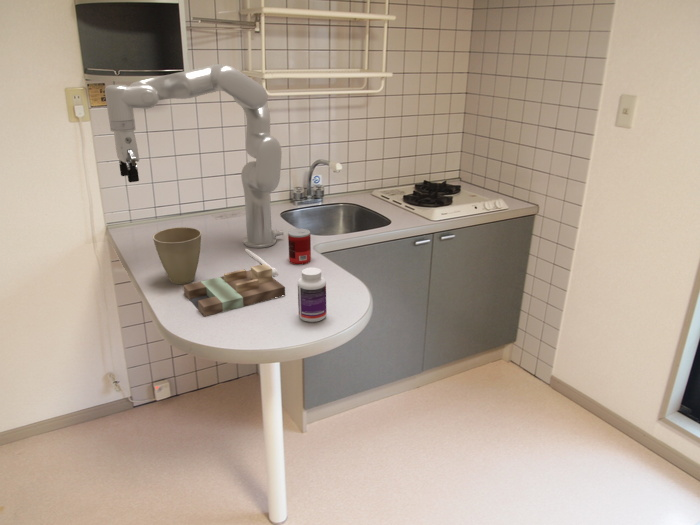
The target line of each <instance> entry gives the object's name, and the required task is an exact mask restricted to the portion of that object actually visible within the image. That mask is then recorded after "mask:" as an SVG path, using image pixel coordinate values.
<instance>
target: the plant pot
mask: <svg viewBox="0 0 700 525" xmlns="http://www.w3.org/2000/svg"><path fill="white" fill-rule="evenodd" d="M152 240H153V243H154V247H155V250H156V252H157V255H158V258H159V260H160V263H161V265H162V267H163V269H164V271H165V273H166V275H167V277H168V279H169V281H170V282H171V283H173V284H176V285H187V284H190V283H192V282H193V281H194V280H195V277H196V273H197V269H198V265H199V261H200V260H199V259H200V256H201V255H200V254H201V246H202V244H201V242H202V231H201V230H200V229H198V228H195V227H189V226H178V227H176V226H175V227H170V228H165V229H162V230H159V231H157V232H156V233H154V234H153V236H152Z"/></svg>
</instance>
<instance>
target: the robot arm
mask: <svg viewBox="0 0 700 525" xmlns="http://www.w3.org/2000/svg"><path fill="white" fill-rule="evenodd" d="M216 92H225V93H226V94H228V95H229V96H231V97H232V98H233V101H235V103H236V104H237V105H239V106H240V107H241V108H242V110H243V111H244V113H245V119H246V130H245V131H246V132H245V134H246V135H245V151H246V153H247V154H248V156H250V157H252V158H253V159H255V160H256V161H255V160H253V161H249V162H247V163H246V164H244V166H243V167H242V169H241V174H240V175H241V176H240V178H241V184H242V187H243V194H244V196H243V197H244V209H245V222H246V237H245V238H244V239H243V242H242V243H243V245H244V246H246V247H248V248H254V249H262V248H263V249H264V248H269V247H271V246H274V245H276V242H277V239H276V237H277V236H283V235H284V230H283V229H280V230H278V229H272V211H271V209H272V208H271V205H272V204H271V194H270V193H272V192H275V190H277V188H278V186H279V184H280V180H281V170H282V169H281V168H282V147H281V143H280V142H279V141H278V139H277V138H276V137H274V136H272V135H271V114H270V111H269V107H268V104H267V102H268V93H267V90H266V89H265V87H264V86H263V85H262V84H260V83H259V82H257V81H256V80H254V79H252V78H251V77H249V76H248V75H247V74H244V73H243V72H241V71H240V70H238V69H237V68H235V67H233V66H231V65H229V64H221V63H218V64H217V63H215V64H211V65H207V66H202V67H198V68H194V69H193V68H192V69H189V70H185V71H184V70H183V71H180V72H179V71H178V72H175V73H171V74H166V75H161V76H155V77H152V78H151V77H150V78H146V79H142V80H136V81H134V82H132V83H130V84H129V85H127V84H108V85H107V86H105V87H104V93H105V101H106V102H105V103H106V108H107V114H108V115H107V116H108V121H109V130H110V132H113V133H114V135H113V136H114V143H115V151H116V156H117V158H118V162H119V170H120V176H121V177H127V180H128V182H129V183H136V182H139V181H140V178H139V177H140V176H139V171H138V170H139V169H138V165H137V163H138V162H139V161H140V155H139V149H138V144H137V139H136V135H135V131H136V130H137V129H136V121H135V114H134V113H135V112H134V109H145V110H146V109H147V110H148V109H152V108H154V107H155V106H157V104H158V103H159V101H165V100H173V99H177V100H178V99H179V100H185V99H186V100H187V99H192V98H196V97H200V96H203V95H207V94H212V93H216Z"/></svg>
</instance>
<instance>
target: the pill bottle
mask: <svg viewBox="0 0 700 525" xmlns="http://www.w3.org/2000/svg"><path fill="white" fill-rule="evenodd" d="M297 301H298V302H297V303H298V305H297V306H298V308H297V309H298V316H299V318H300V320H302V321H304V322H308V323H315V322H316V323H317V322H320V321H322V320H324V319H325V318H326V317H327V281H326V279H325V277H323V276H322V269H320V268H318V267H306V268H304V269H302V270H301V277H300V278H299V279H298V280H297Z"/></svg>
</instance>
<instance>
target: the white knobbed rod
mask: <svg viewBox="0 0 700 525" xmlns="http://www.w3.org/2000/svg"><path fill="white" fill-rule="evenodd" d="M244 252H245V253H246V254H248V255H249V256H250V257H251V258H252V257H253V258H254V259H253V258H252V259H253V260H255V261H257V262H258V263H259V264H260V263H261V264H266V265H267V266H269V267H270V268H272V276H273V277H275V276H274V275H277V276H279V271H278V270H277V269H276V268H275V267H272V265H270V264H269V263H268V262H266V260H264V259H263V258H261V257H260V256H259V255H257V254H256V253H254V252H253V251H251V250H250V249H248V248H245V250H244ZM261 264H260V265H261Z"/></svg>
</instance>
